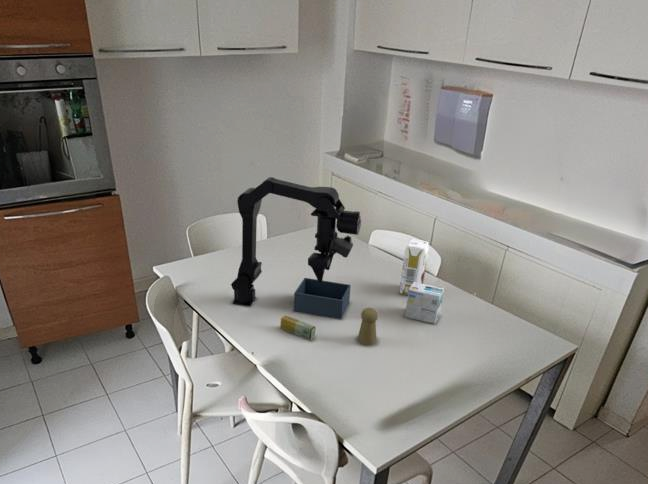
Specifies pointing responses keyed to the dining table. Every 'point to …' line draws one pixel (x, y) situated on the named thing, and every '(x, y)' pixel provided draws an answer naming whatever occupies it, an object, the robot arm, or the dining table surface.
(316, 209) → the robot arm
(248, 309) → the dining table surface
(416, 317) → the light bulb box
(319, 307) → the dark blue open bin
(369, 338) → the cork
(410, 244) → the juice carton
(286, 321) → the medication box
